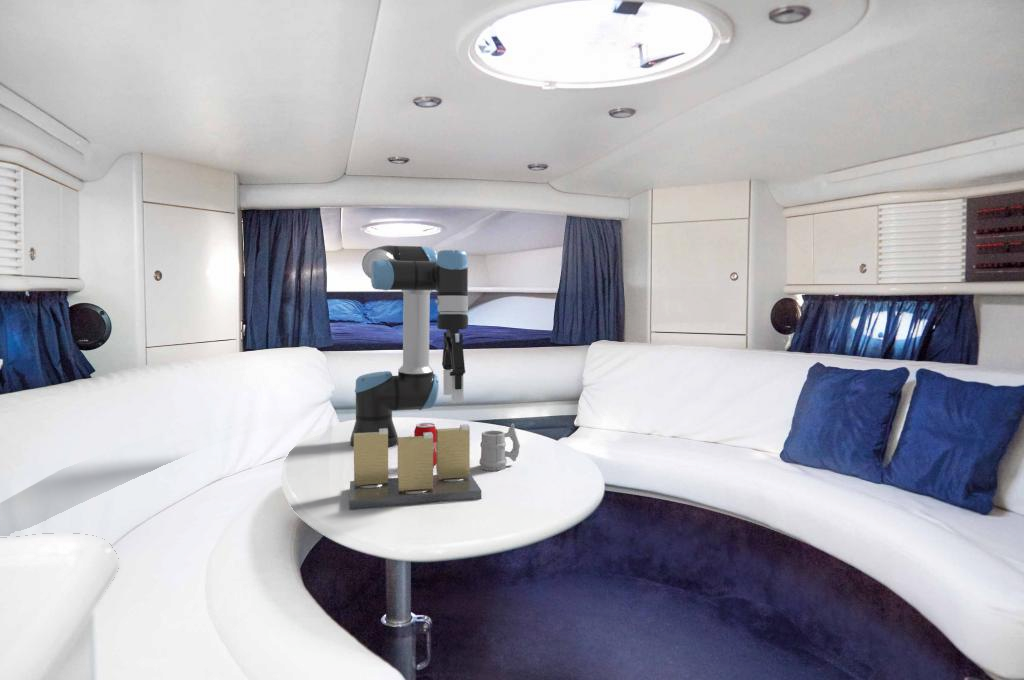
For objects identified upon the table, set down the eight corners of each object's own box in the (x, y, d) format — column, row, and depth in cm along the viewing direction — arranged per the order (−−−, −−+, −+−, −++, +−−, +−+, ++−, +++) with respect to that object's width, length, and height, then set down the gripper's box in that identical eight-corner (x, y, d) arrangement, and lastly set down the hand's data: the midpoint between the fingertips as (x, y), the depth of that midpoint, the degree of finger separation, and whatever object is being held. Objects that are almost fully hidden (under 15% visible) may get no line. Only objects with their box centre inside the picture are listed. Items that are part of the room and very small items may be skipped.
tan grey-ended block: (398, 491, 134) (398, 436, 133) (398, 487, 137) (397, 433, 136) (433, 488, 136) (433, 434, 135) (431, 484, 139) (431, 432, 138)
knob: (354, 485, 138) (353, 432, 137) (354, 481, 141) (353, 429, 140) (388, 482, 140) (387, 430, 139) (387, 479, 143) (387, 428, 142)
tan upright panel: (437, 479, 143) (437, 428, 143) (436, 476, 146) (436, 425, 145) (469, 476, 145) (469, 426, 145) (467, 473, 148) (467, 424, 147)
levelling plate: (350, 489, 143) (350, 479, 143) (469, 480, 151) (469, 471, 151) (349, 509, 129) (349, 499, 129) (481, 498, 136) (481, 488, 136)
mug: (475, 465, 165) (475, 423, 164) (514, 461, 169) (514, 420, 169) (484, 472, 158) (484, 429, 157) (524, 468, 162) (524, 425, 162)
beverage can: (432, 470, 160) (432, 427, 159) (411, 469, 161) (410, 426, 160) (439, 464, 166) (439, 423, 165) (419, 463, 167) (418, 422, 166)
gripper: (431, 313, 154) (431, 392, 155) (444, 313, 130) (445, 407, 131) (459, 313, 156) (459, 391, 157) (477, 313, 132) (477, 405, 133)
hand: (453, 398), depth 144 cm, fingers open, 13 cm apart
